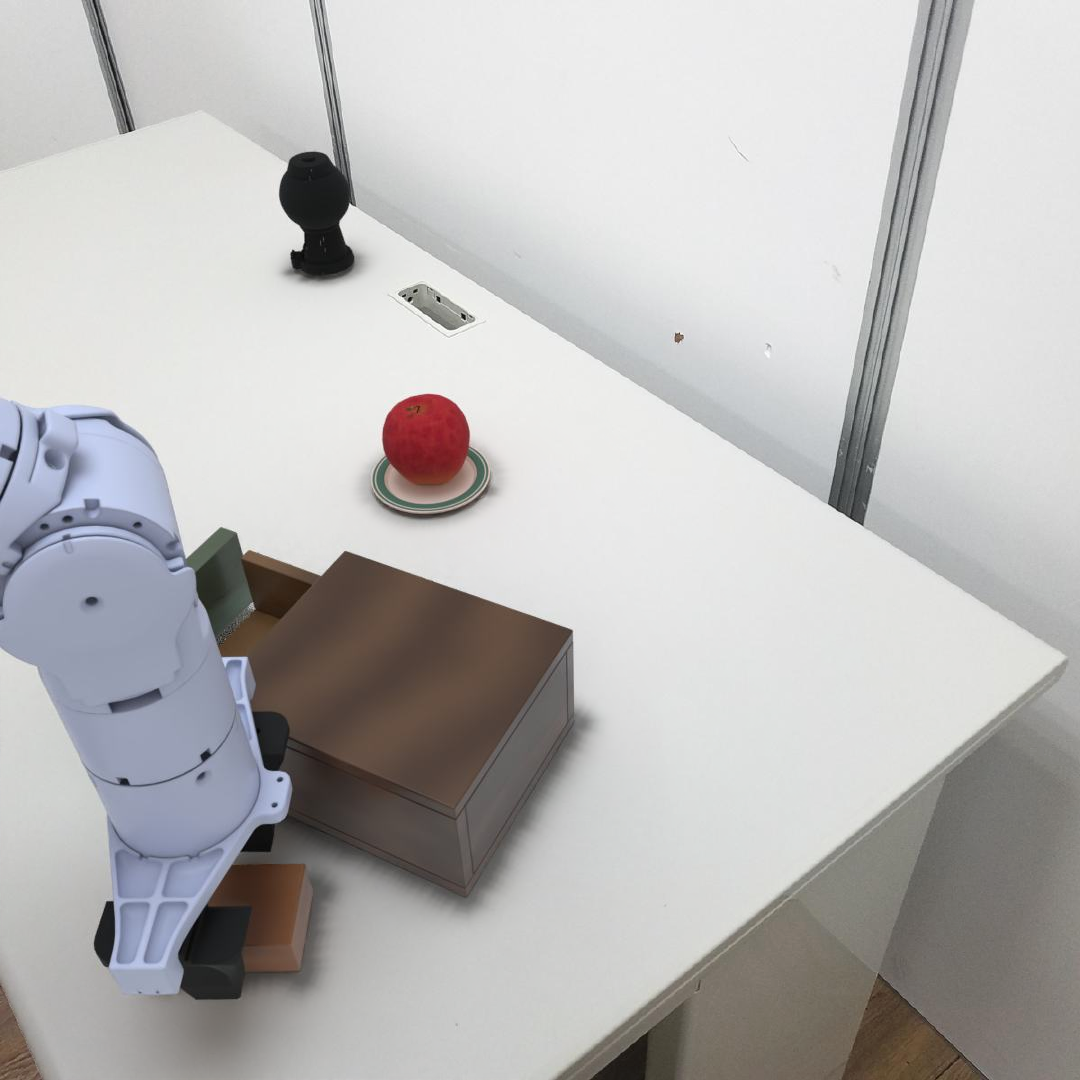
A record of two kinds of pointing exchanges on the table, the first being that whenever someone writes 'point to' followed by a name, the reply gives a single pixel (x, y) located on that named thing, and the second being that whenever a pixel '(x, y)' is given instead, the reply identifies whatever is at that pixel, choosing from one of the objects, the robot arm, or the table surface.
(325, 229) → the gumball machine
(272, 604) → the drawer
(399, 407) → the red apple on plate
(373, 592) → the cabinet
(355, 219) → the table surface
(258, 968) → the brown rectangular block
